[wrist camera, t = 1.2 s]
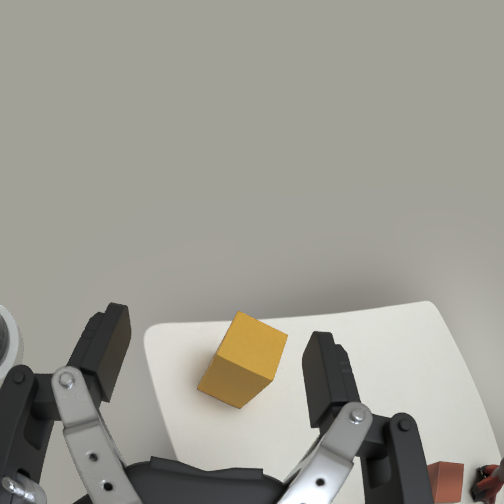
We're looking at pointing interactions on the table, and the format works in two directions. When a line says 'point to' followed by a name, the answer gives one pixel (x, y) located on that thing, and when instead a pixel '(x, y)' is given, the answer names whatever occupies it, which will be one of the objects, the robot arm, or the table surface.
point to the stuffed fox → (489, 483)
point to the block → (243, 361)
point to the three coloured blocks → (446, 482)
